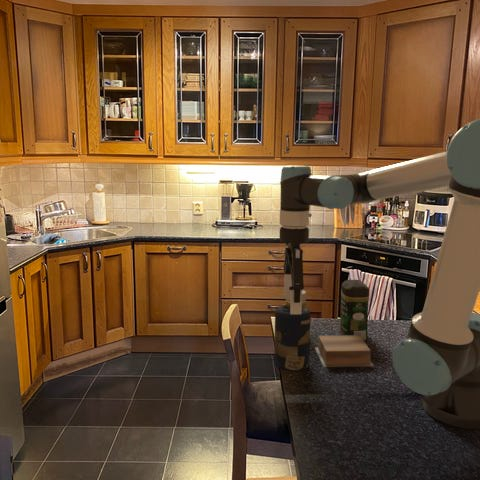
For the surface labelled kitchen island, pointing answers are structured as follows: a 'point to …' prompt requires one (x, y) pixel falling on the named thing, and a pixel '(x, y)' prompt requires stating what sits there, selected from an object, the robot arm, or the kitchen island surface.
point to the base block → (344, 350)
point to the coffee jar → (354, 308)
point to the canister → (292, 339)
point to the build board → (339, 365)
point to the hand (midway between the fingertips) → (292, 305)
